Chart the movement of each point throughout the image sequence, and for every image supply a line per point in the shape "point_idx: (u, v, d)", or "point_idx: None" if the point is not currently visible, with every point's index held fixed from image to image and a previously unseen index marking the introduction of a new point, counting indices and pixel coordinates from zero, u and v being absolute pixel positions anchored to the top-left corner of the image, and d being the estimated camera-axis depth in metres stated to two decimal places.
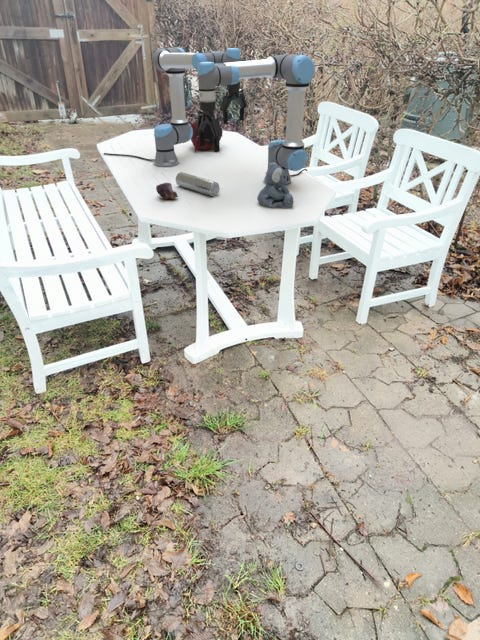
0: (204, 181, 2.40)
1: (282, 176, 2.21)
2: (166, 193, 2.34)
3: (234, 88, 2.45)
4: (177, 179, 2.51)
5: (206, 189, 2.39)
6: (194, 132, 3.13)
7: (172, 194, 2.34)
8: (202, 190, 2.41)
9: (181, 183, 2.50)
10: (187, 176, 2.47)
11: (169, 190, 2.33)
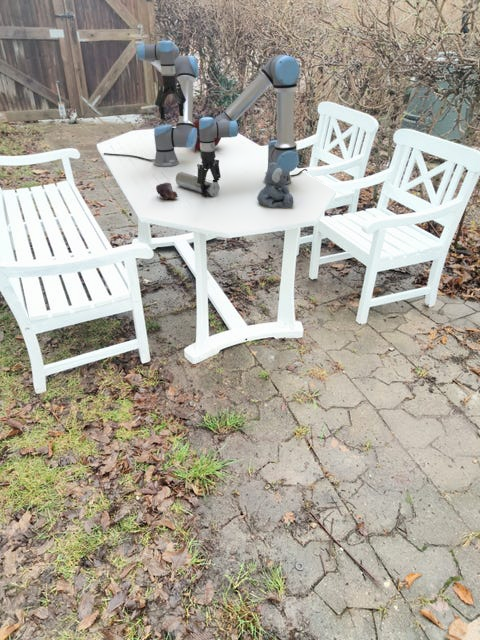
0: None
1: (282, 176, 2.21)
2: (166, 193, 2.34)
3: (169, 82, 2.39)
4: (177, 179, 2.51)
5: (206, 189, 2.39)
6: None
7: (172, 194, 2.34)
8: None
9: (181, 183, 2.50)
10: (187, 176, 2.47)
11: (169, 190, 2.33)
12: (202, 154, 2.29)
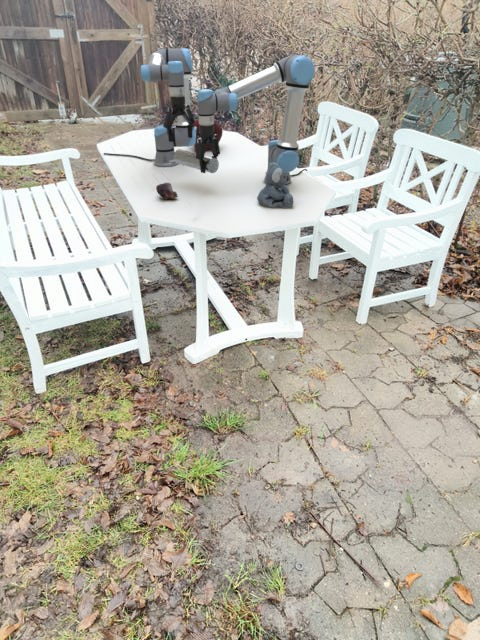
0: None
1: (282, 176, 2.21)
2: (166, 193, 2.34)
3: (178, 103, 2.29)
4: (175, 156, 2.44)
5: None
6: None
7: (172, 194, 2.34)
8: None
9: (179, 160, 2.43)
10: (185, 152, 2.40)
11: (169, 190, 2.33)
12: (201, 128, 2.22)
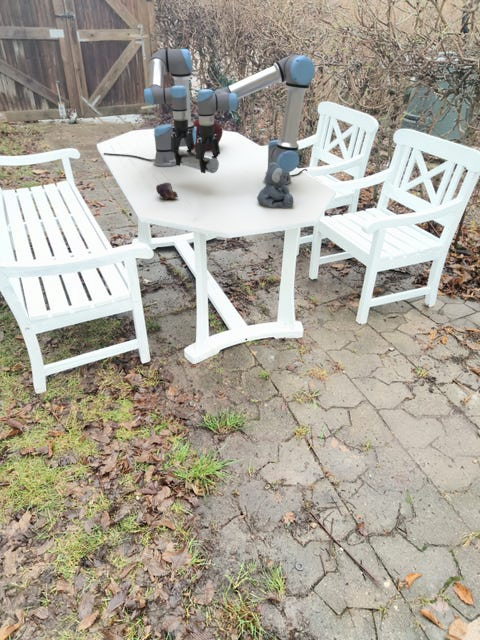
0: None
1: (282, 176, 2.21)
2: (166, 193, 2.34)
3: (181, 127, 2.33)
4: None
5: None
6: None
7: (172, 194, 2.34)
8: None
9: None
10: (185, 152, 2.40)
11: (169, 190, 2.33)
12: (201, 128, 2.22)
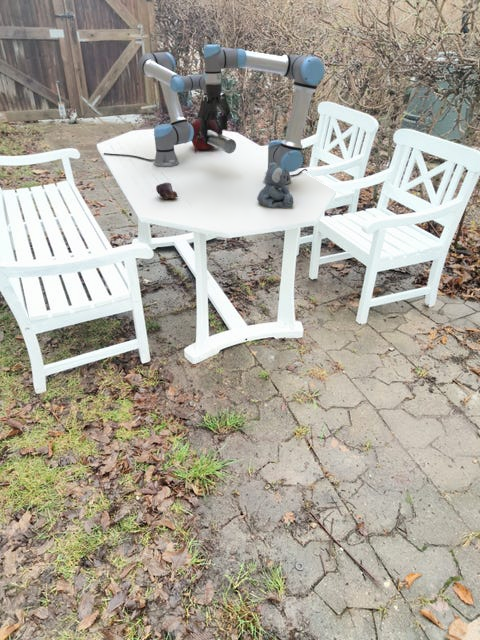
0: (222, 138, 2.56)
1: (282, 176, 2.21)
2: (166, 193, 2.34)
3: None
4: None
5: (222, 145, 2.54)
6: (194, 132, 3.13)
7: (172, 194, 2.34)
8: (220, 146, 2.57)
9: (207, 140, 2.69)
10: (212, 133, 2.66)
11: (169, 190, 2.33)
12: (207, 87, 2.08)
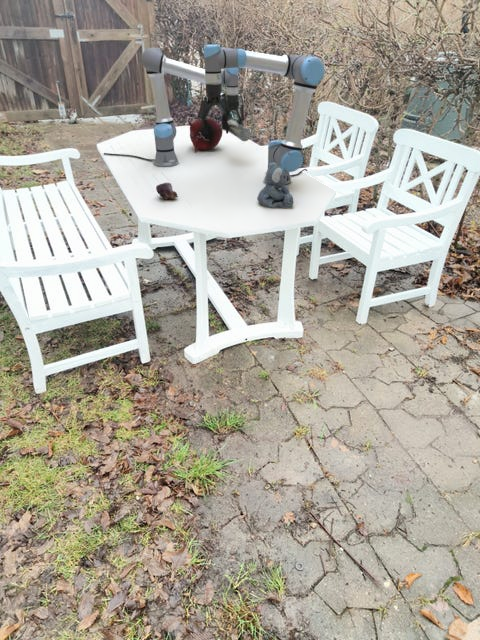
0: (239, 127, 2.79)
1: (282, 176, 2.21)
2: (166, 193, 2.34)
3: (230, 101, 2.83)
4: None
5: (237, 134, 2.77)
6: (194, 132, 3.13)
7: (172, 194, 2.34)
8: (236, 134, 2.80)
9: (228, 129, 2.93)
10: (232, 123, 2.89)
11: (169, 190, 2.33)
12: (207, 87, 2.08)
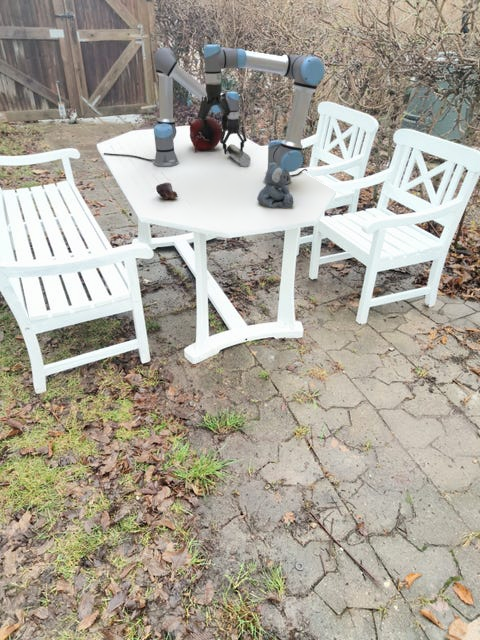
0: (239, 153, 2.88)
1: (282, 176, 2.21)
2: (166, 193, 2.34)
3: (231, 124, 2.91)
4: (227, 149, 3.04)
5: (238, 159, 2.86)
6: (194, 132, 3.13)
7: (172, 194, 2.34)
8: (236, 160, 2.89)
9: (228, 153, 3.02)
10: (233, 147, 2.98)
11: (169, 190, 2.33)
12: (207, 87, 2.08)
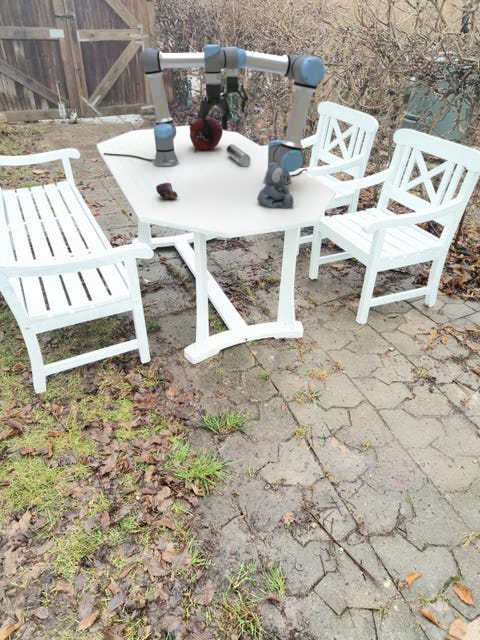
0: (239, 153, 2.88)
1: (282, 176, 2.21)
2: (166, 193, 2.34)
3: (230, 82, 2.77)
4: (227, 149, 3.04)
5: (238, 159, 2.86)
6: (194, 132, 3.13)
7: (172, 194, 2.34)
8: (236, 160, 2.89)
9: (228, 153, 3.02)
10: (233, 147, 2.98)
11: (169, 190, 2.33)
12: (207, 87, 2.08)
